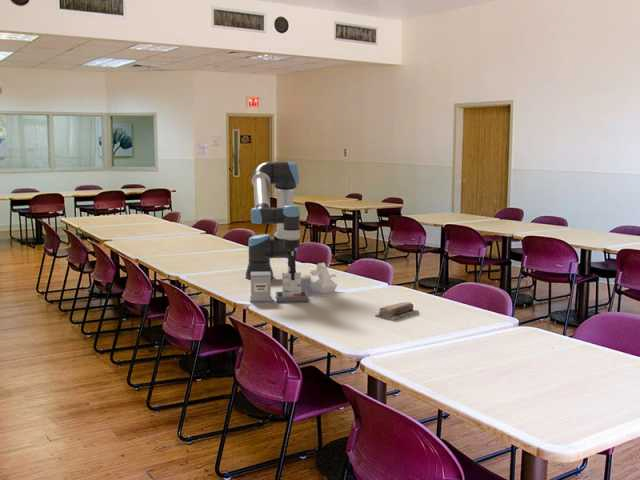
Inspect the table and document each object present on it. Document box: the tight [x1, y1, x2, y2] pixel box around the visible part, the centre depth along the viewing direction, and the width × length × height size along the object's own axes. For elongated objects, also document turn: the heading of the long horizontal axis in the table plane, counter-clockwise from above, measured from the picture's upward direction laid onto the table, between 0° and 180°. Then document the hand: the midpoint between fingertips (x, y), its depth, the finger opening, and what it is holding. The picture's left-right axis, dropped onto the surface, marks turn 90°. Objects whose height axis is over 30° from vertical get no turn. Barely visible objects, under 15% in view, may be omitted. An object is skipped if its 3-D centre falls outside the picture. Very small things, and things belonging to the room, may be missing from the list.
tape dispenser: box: [310, 262, 338, 294], centre depth 327 cm, size 8×14×14 cm, turn 125°
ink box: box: [281, 271, 302, 297], centre depth 309 cm, size 9×5×12 cm, turn 88°
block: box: [301, 274, 312, 294], centre depth 324 cm, size 5×5×8 cm
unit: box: [249, 272, 273, 303], centre depth 307 cm, size 10×10×13 cm
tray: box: [275, 291, 309, 303], centre depth 309 cm, size 12×15×2 cm
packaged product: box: [374, 301, 420, 321], centre depth 281 cm, size 18×5×10 cm
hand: (291, 283), depth 308 cm, fingers open, 13 cm apart
